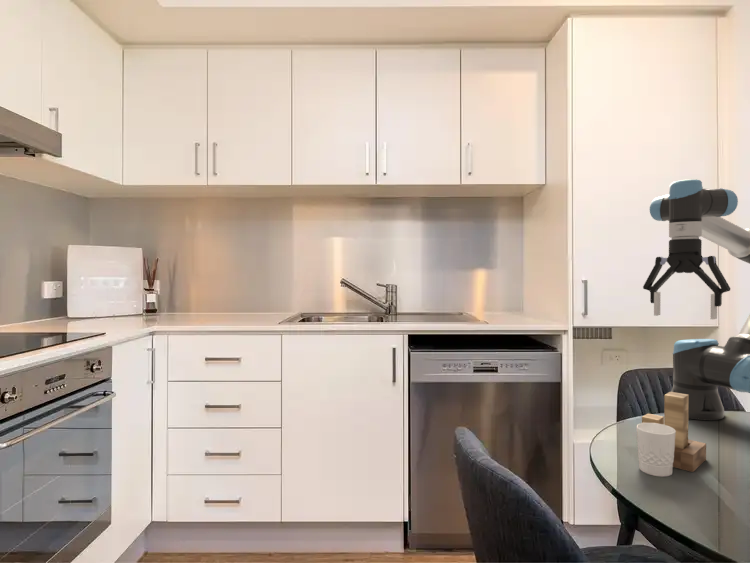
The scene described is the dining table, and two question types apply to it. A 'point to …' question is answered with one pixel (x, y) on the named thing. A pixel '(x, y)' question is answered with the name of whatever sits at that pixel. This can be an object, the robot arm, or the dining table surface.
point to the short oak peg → (653, 419)
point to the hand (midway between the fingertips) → (684, 317)
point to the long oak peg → (677, 416)
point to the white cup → (656, 448)
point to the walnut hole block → (690, 456)
